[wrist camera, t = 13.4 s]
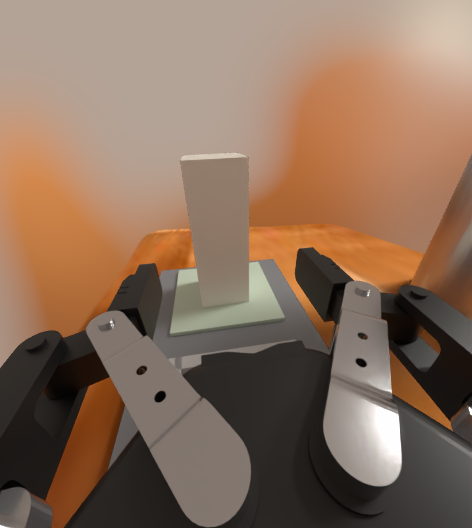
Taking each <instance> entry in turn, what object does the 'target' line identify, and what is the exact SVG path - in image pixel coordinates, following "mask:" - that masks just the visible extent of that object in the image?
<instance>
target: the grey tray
mask: <svg viewBox="0 0 472 528" xmlns="http://www.w3.org/2000/svg"><path fill="white" fill-rule="evenodd" d="M160 282H161V286H162V301H161V306H160V310H159V314H158V319H157V323H156V328H155V332H154V336H153V342H154V344H155V345H156V346H157V347H158V348H159V349H160V350H161V352H162V353H163V354H164V355H165V356H166V357H167V359H168V360H169V361H170V362H171V363H172V364H173V366H174V367H175V368H176V369H177V370H178V371H179V373H180V374H181V375H183V374H184V373H186V372H187V371H189V370H190V369H192V368H193V367H195V366H197V365H200V364H201V355H207V354H213V353H220V352H240V353H257V352H259V351H262V350H264V349H266V348H269V347H271V346H274V345H276V344H279V343H286V342H293V341H299V340H302V342H303V344H304V346H305V348H309V349H315V350H318V351H321V352H324V353H326V354H329V349H328V347H327V346H326V344H325V342H324V341H323V339H322V338H321V336H320V334H319V333H318V331H317V329H316V328H315V326H314V325H313V323H312V321H311V320H310V318H309V316H308V315H307V313H306V312H305V310H304V308H303V307H302V305H301V303H300V302H299V300H298V299H297V297H296V295H295V294H294V292H293V290H292V289H291V287H290V286H289V284H288V282H287V281H286V279H285V277H284V276H283V274H282V273H281V271H280V269H279V268H278V266H277V264H276V263H275V261H274V260H273V259H268V260H259V261H249V302H242V303H235V304H227V305H220V306H213V307H206V308H203V307H202V301H201V294H200V288H199V281H198V275H197V268H196V267H194V268H185V269H176V270H166V271H162V272H161V275H160ZM138 430H139V429H138V427H137V426H136V424H135V422H134V420H133V418H132V416H131V414H130V413H129V411H128V409H127V407H126V405H125V408H124V412H123V415H122V419H121V423H120V426H119V430H118V434H117V437H116V441H115V445H114V448H113V452H112V456H111V460H110V463H109V467H108V469H109V468H110V467H111V465H112V464H113V463H114V461H115V460H116V459H117V457H118V456H119V455H120V453H121V452H122V451H123V450H124V448H125V447H126V446H127V444H128V443H129V442H130V440H131V439H132V438H133V436H134V435H135V434H136V432H137V431H138Z"/></svg>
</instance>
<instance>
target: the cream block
mask: <svg viewBox="0 0 472 528" xmlns="http://www.w3.org/2000/svg"><path fill="white" fill-rule="evenodd" d="M180 164H181V170H182V177H183V183H184V190H185V196H186V203H187V209H188V216H189V222H190V229H191V235H192V242H193V248H194V255H195V262H196V268H197V275H198V281H199V288H200V294H201V301H202V307H203V308H206V307H213V306H220V305H227V304H235V303H242V302H249V190H248V189H249V186H248V185H249V172H248V168H249V166H248V157H247V156H245V155H242V154H239V153H224V154H204V155H185V156H183V157H182V158H181V160H180Z"/></svg>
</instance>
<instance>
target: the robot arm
mask: <svg viewBox="0 0 472 528" xmlns="http://www.w3.org/2000/svg"><path fill="white" fill-rule="evenodd" d="M295 277H296V281H297V283H298V284H299V286H300V287H301V289H302V290H303V291H304V293H305V294H306V296H307V297H308V299H309V300H310V302H311V303H312V305H313V306H314V308H315V309H316V311H317V312H318V314H319V315H320V316H321V318H322V319H323V321H324V322H328V321H334V322H335V325H334V329H333V334H332V339H331V344H330V349H329V354H326V353H324V352H321V351H318V350H315V349H309V348H305V346H304V344H303V342H302V340H299V341H293V342H286V343H279V344H276V345H274V346H271V347H269V348H266V349H264V350H262V351H259V352H257V353H240V352H220V353H213V354H207V355H201V364H200V365H197V366H195V367H193V368H192V369H190V370H189V371H187V372H186V373H184V374H183V375H181V374H180V373H179V371H178V370H177V369H176V368H175V367H174V366H173V364H172V363H171V362H170V361H169V360H168V359H167V357H166V356H165V355H164V354H163V353H162V352H161V350H160V349H159V348H158V347H157V346H156V345H155V344H154V342H153V336H154V332H155V328H156V323H157V319H158V314H159V310H160V306H161V301H162V286H161V282H160V278H159V275H158V271H157V267H156V265H155V263H152V264H142V265H139V267H138V269H137V271H136V273H135V274H134V275H130V276H128V277H127V278H126V279H125V280H124V281H123V282H122V284H121V286H120V289H119V290H118V292H117V294H116V295H115V297H114V299H113V301H112V303H111V305H110V307H109V309H108V311H107V312H105V313H103V314H100V315H99V316H97V317H95V318H94V319H93V320H92V321H91V322H90V323H89V324H88V325H87V327H86V330H85V331H82V332H79V333H77V334H74V335H71V336H68V337H65V338H63V337H62V336H61V335H60V333H59V332H57V331H45V332H42V333H39V334H36V335H34V336H32V337H31V338H28V339H27V340H25V341H24V342H23V343H21V344H20V345H19V346H18V347H17V348H16V349H15V350H14V352H13V353H12V354H11V355H10V357H9V358H8V359H7V360H6V362H5V363H4V364H3V365H2V367H1V368H0V528H51V525H52V518H53V515H52V509H51V506H50V505H49V503H47V502H46V501H45V499H46V497H47V494H48V491H49V489H50V486H51V484H52V481H53V478H54V476H55V473H56V470H57V468H58V465H59V462H60V460H61V457H62V455H63V452H64V449H65V447H66V444H67V441H68V439H69V436H70V434H71V431H72V428H73V426H74V423H75V420H76V418H77V415H78V413H79V410H80V407H81V405H82V402H83V399H84V397H85V394H86V392H87V389H88V386H90V385H92V384H94V383H97V382H99V381H101V380H104V379H106V378H108V377H110V378H111V380H112V381H113V383H114V385H115V387H116V389H117V391H118V392H119V394H120V396H121V398H122V400H123V402H124V403H125V405H126V407H127V409H128V411H129V413H130V414H131V416H132V418H133V420H134V422H135V424H136V426H137V427H138V429H139V430H138V431H137V432H136V434H135V435H134V436H133V438H132V439H131V440H130V442H129V443H128V444H127V446H126V447H125V448H124V450H123V451H122V452H121V453H120V455H119V456H118V457H117V459H116V460H115V461H114V463H113V464H112V465H111V467H110V468H109V469H108V470H107V472H106V473H105V474H104V476H103V477H102V478H101V480H100V481H99V482H98V484H97V485H96V486H95V487H94V489H93V490H92V491H91V493H90V494H89V495H88V497H87V498H86V499H85V501H84V502H83V503H82V504H81V506H80V507H79V508H78V510H77V511H76V512H75V514H74V515H73V516H72V518H71V519H70V520H69V521H68V523H67V524H66V526H65V527H64V528H472V155H471V157H470V159H469V161H468V163H467V166H466V168H465V170H464V172H463V174H462V177H461V178H460V180H459V183H458V185H457V187H456V189H455V191H454V193H453V195H452V197H451V199H450V202H449V204H448V206H447V208H446V210H445V212H444V214H443V216H442V218H441V220H440V223H439V225H438V227H437V229H436V231H435V233H434V235H433V238H432V239H431V241H430V244H429V246H428V248H427V250H426V252H425V254H424V256H423V258H422V260H421V262H420V264H419V266H418V269H417V271H416V273H415V275H414V277H413V279H412V281H411V283H410V285H404V286H401V287H400V288H399V290H398V292H397V294H388V293H380V291H379V290H378V289H377V288H376V287H375V286H373V285H371V284H369V283H366V282H362V281H354V280H353V279H352V278H351V277H350V276H349V275H347V274H346V273H345V272H344V271H343V270H342V269H340V267H339V266H338V265H336V263H334V262H333V261H332V260H331V259H330V258H328V257H326V256H324V255H320V254H319V253H318V252H317V251H316V250H315V249H314V248H313V247H311V248H301V249H299V250H298V252H297V260H296V268H295ZM423 329H425V330H426V331H427V332H428V333H430V334H431V335H432V336H433V337H434V338H435V339H436V340H437V341H438V343H439V344H440V347H441V352H440V354H438V353H437V352H436V351H435V350H433V349H432V348H431V347H430V346H429V345H428V344H427V343H426V342H425V341H424V340H423V339H422V338H421V337H420V334H421V332H422V331H423ZM389 348H390V349H391V351H392V352H393V353H394V354H395V355H396V357H397V358H398V359H399V360H400V361H401V363H402V364H403V365H404V366H405V367H406V369H407V370H408V371H409V372H410V374H411V375H412V376H413V377H414V378H415V380H416V381H417V382H418V383H419V384H420V386H421V387H422V388H423V389H424V390H425V392H426V393H427V394H428V395H429V396H430V398H431V399H432V400H433V401H434V402H435V404H436V405H437V406H438V407H439V408H440V410H441V411H442V412H443V413H444V414H445V416H446V417H447V418H448V419H449V421H450V422H451V426H452V429H453V431H454V432H453V431H451V430H450V429H448V428H446V427H445V426H443V425H442V424H440V423H438V422H437V421H435V420H434V419H432V418H430V417H429V416H427V415H426V414H424V413H422V412H421V411H419V410H418V409H416V408H414V407H413V406H411V405H410V404H408V403H406V402H405V401H403V400H402V399H400V398H398V397H397V396H395V395H394V394H392V389H391V373H390V358H389ZM40 396H41V397H40ZM39 398H40V399H39ZM38 400H39V401H38Z"/></svg>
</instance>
